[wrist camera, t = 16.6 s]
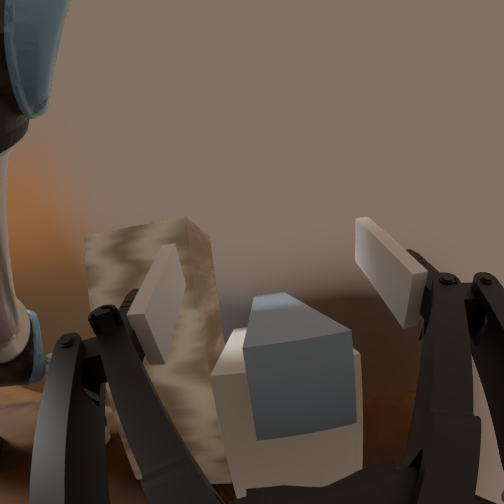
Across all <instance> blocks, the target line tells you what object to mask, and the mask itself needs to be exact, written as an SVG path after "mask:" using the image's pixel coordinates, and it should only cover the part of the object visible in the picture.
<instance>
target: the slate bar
mask: <svg viewBox="0 0 504 504" xmlns="http://www.w3.org/2000/svg"><path fill="white" fill-rule="evenodd" d="M242 349H243V356H244V362H245V369H246V375H247V382H248V388H249V394H250V401H251V407H252V413H253V419H254V425H255V431H256V437H257V441H259V440H268V439H276V438H283V437H290V436H296V435H302V434H308V433H314V432H319V431H324V430H329V429H333V428H338V427H342V426H346V425H351V424H355V423H357V417H356V389H355V371H354V357H353V344H352V334H351V330H350V329H348V328H346V327H344V326H343V325H341V324H339V323H337V322H336V321H334V320H332V319H330V318H328V317H327V316H325V315H323V314H321V313H320V312H318V311H316V310H314V309H312V308H311V307H309V306H307V305H306V304H304V303H302V302H300V301H299V300H297V299H295V298H293V297H292V296H290V295H288V294H286V293H284V292H279V293H272V294H265V295H258V296H255V297H254V301H253V305H252V309H251V313H250V318H249V322H248V326H247V330H246V334H245V339H244V343H243V347H242Z"/></svg>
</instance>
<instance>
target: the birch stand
mask: <svg viewBox="0 0 504 504" xmlns="http://www.w3.org/2000/svg"><path fill="white" fill-rule="evenodd" d="M173 243H175V244H176V248H177V252H178V256H179V260H180V264H181V268H182V271H183V275H184V279H185V282H186V287H185V291H184V295H183V298H182V302H181V306H180V309H179V313H178V317H177V321H176V325H175V329H174V332H173V336H172V340H171V344H170V348H169V353H168V357H167V361H166V365H149V363H148V361H147V359H146V357H144V360H143V365H144V367H145V369H146V371H147V373H148V375H149V377H150V379H151V381H152V383H153V385H154V388H155V390H156V392H157V393H158V395H159V397H160V399H161V401H162V403H163V405H164V407H165V409H166V411H167V413H168V414H169V416H170V418H171V420H172V422H173V424H174V425H175V427H176V429H177V431H178V432H179V434H180V436H181V438H182V439H183V441H184V443H185V444H186V446H187V448H188V449H189V451H190V452H191V454H192V456H193V457H194V459H195V460H196V462H197V464H198V465H199V467H200V468H201V470H202V471H203V473H204V474H205V476H206V477H207V479H208V480H209V482H210V483H211V484H232V478H231V474H230V470H229V466H228V462H227V457H226V453H225V449H224V444H223V440H222V435H221V430H220V426H219V421H218V416H217V411H216V406H215V401H214V396H213V391H212V386H211V380H210V375H211V373H212V371H213V369H214V367H215V365H216V363H217V361H218V359H219V357H220V355H221V353H222V351H223V349H224V348H225V344H224V337H223V331H222V324H221V318H220V310H219V304H218V296H217V289H216V282H215V274H214V267H213V259H212V251H211V242H210V236H208V235H207V234H206V233H205V232H204V231H202V230H201V229H200V228H199V227H197V226H196V225H195V224H194V223H193V222H191V221H190V220H189V219H188V218H186V217H185V218H179V219H173V220H167V221H161V222H156V223H150V224H144V225H139V226H133V227H128V228H123V229H118V230H112V231H107V232H102V233H97V234H92V235H87V236H84V246H85V261H86V273H87V282H88V292H89V300H90V308H91V312H92V311H93V310H94V309H96V308H98V307H100V306H103V305H106V304H112V305H115V306H116V307H117V309H119V308H120V306H121V304H122V303H123V300H124V298H125V297H126V295H127V294H128V293H129V292H130V291H131V290H132V289H138V288H140V287H141V285H142V283H143V281H144V279H145V277H146V275H147V273H148V271H149V270H150V268H151V266H152V264H153V262H154V260H155V258H156V256H157V255H158V253H159V251H160V249H161V247H162V245H167V244H173ZM95 337H96V335H95ZM105 386H106V389H107V393H108V397H109V400H110V404H111V408H112V411H113V415H114V418H115V421H116V425H117V428H118V431H119V434H120V437H121V440H122V443H123V446H124V449H125V451H126V454H127V457H128V459H129V462H130V465H131V467H132V470H133V472H134V475H135V477H136V479H138V480H140V479H142V474H141V472H140V469H139V467H138V465H137V463H136V460H135V458H134V455H133V453H132V451H131V448H130V446H129V443H128V441H127V438H126V435H125V433H124V430H123V427H122V424H121V422H120V419H119V416H118V413H117V410H116V407H115V404H114V401H113V398H112V394H111V391H110V388H109V384H108V382H106V385H105Z"/></svg>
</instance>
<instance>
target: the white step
mask: <svg viewBox="0 0 504 504" xmlns="http://www.w3.org/2000/svg"><path fill="white" fill-rule="evenodd" d="M246 330H247V327H245V328H237V329H234V330H233V332H232V334H231V336H230V338H229V340H228V342H227V344H226V346H225V348H224V349H223V351H222V353H221V355H220V357H219V359H218V361H217V363H216V365H215V367H214V369H213V371H212V373H211V375H210V380H211V386H212V391H213V396H214V401H215V406H216V411H217V416H218V421H219V426H220V430H221V435H222V440H223V444H224V449H225V453H226V457H227V462H228V466H229V470H230V474H231V478H232V482H233V486H234V490H235V494H236V498H237V499H238V498H241V497H245V496H246V489H248V488H261V487H271V486H280V485H289V486H306V487H324V486H327V485H330V484H332V483H334V482H336V481H338V480H340V479H342V478H345V477H347V476H349V475H351V474H353V473H355V472H357V471H358V470H361V469H362V463H363V400H362V376H361V360H360V353H359V352H358V351H356V350H355V349H354V348H353V357H354V371H355V389H356V417H357V423H355V424H351V425H346V426H342V427H338V428H333V429H329V430H324V431H319V432H314V433H308V434H302V435H296V436H290V437H283V438H276V439H268V440H259V441H257V437H256V431H255V425H254V419H253V413H252V407H251V401H250V394H249V388H248V382H247V375H246V369H245V362H244V356H243V349H242V347H243V343H244V339H245V334H246Z"/></svg>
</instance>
